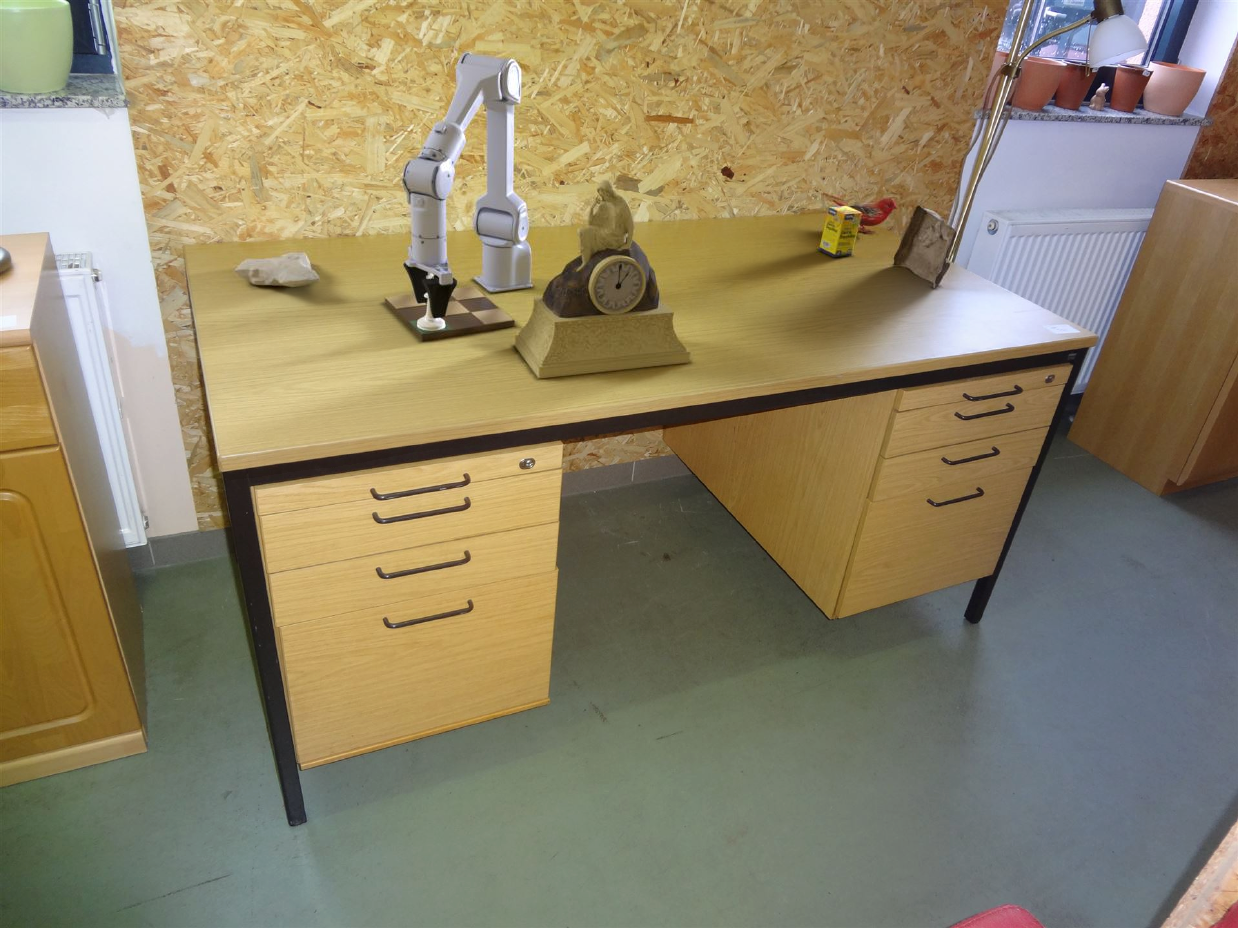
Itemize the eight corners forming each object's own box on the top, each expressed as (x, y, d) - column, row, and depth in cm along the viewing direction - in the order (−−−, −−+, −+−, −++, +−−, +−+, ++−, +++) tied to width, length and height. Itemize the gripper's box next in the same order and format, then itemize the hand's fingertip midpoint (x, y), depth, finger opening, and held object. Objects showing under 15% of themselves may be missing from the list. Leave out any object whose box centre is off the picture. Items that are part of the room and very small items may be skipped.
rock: (236, 306, 156) (322, 295, 160) (230, 281, 153) (317, 271, 158) (241, 272, 173) (318, 263, 177) (235, 250, 171) (313, 241, 175)
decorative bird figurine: (888, 239, 231) (898, 201, 226) (825, 223, 238) (834, 187, 232) (891, 236, 233) (901, 199, 228) (829, 221, 240) (837, 185, 235)
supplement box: (834, 258, 212) (844, 213, 206) (818, 250, 216) (828, 206, 211) (852, 256, 215) (862, 212, 209) (835, 248, 219) (846, 205, 213)
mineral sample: (891, 264, 212) (908, 203, 204) (904, 264, 213) (922, 203, 205) (934, 290, 199) (954, 225, 191) (948, 289, 200) (968, 225, 192)
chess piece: (450, 323, 154) (449, 270, 149) (436, 333, 150) (435, 278, 145) (425, 318, 156) (424, 264, 150) (411, 327, 152) (409, 273, 146)
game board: (472, 292, 172) (472, 285, 171) (514, 326, 159) (514, 319, 159) (385, 303, 162) (384, 297, 162) (421, 341, 150) (421, 334, 150)
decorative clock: (538, 378, 142) (547, 195, 126) (515, 346, 152) (520, 172, 136) (688, 362, 153) (714, 192, 137) (657, 333, 163) (678, 171, 147)
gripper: (390, 222, 147) (393, 297, 154) (423, 250, 137) (425, 328, 145) (429, 219, 151) (430, 292, 158) (464, 245, 141) (464, 322, 148)
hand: (430, 309), depth 151 cm, fingers open, 6 cm apart
